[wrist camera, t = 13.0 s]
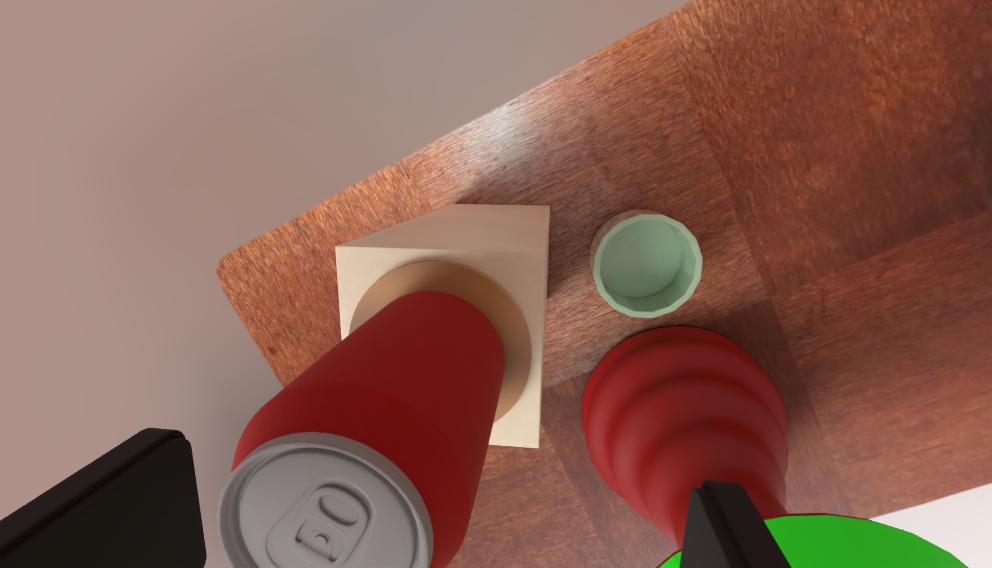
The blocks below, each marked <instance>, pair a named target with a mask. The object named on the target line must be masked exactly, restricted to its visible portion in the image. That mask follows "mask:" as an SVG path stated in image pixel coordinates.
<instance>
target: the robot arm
mask: <svg viewBox="0 0 992 568" xmlns="http://www.w3.org/2000/svg"><path fill="white" fill-rule="evenodd" d="M192 456H193V455H192V448H191V444H190V442H189V441H188V440H186V439H185V436H184V435H183V433H182V432H180V431H178V430H169V429H159V428H147V429H144V430H142V431H140V432H138V433H137V434H135V435H134V436H132V437H131V438H129V439H128V440H126V441H125V442H123V443H121V444H120V445H118V446H117V447H115V448H114V449H112V450H110V451H109V452H107V453H106V454H104V455H102V456H101V457H100V458H98V459H96V460H95V461H93V462H92V463H90V464H89V465H87V466H85V467H84V468H82V469H80V470H79V471H77V472H76V473H74V474H73V475H71V476H70V477H68V478H66V479H65V480H63V481H62V482H60V483H59V484H57V485H56V486H54V487H52V488H51V489H49V490H48V491H46V492H44V493H43V494H41V495H40V496H38V497H37V498H35V499H34V500H32V501H31V502H29V503H27V504H26V505H24V506H23V507H21V508H20V509H18V510H16V511H15V512H13V513H12V514H10V515H9V516H7V517H5V518H4V519H2V520H1V521H0V568H204V565H205V562H206V548H205V541H204V534H203V526H202V519H201V512H200V505H199V498H198V491H197V484H196V477H195V470H194V463H193V457H192ZM679 568H792V567H791V566H790V564H789V562H788V561H787V559H786V557H785V555H784V554H783V552H782V550H781V549H780V547H779V545H778V544H777V542H776V540H775V539H774V537H773V535H772V534H771V532H770V530H769V529H768V527H767V525H766V524H765V522H764V520H763V519H762V517H761V515H760V514H759V512H758V510H757V508H756V507H755V505H754V503H753V502H752V500H751V498H750V497H749V495H748V493H747V492H746V490H745V488H744V487H743V486H742V485H741V484H739V483H734V482H723V481H713V480H705V481H703V483H702V485H701V488H692V490H691V492H690V497H689V504H688V511H687V518H686V525H685V532H684V539H683V546H682V552H681V559H680V566H679Z"/></svg>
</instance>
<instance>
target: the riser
mask: <svg viewBox="0 0 992 568" xmlns="http://www.w3.org/2000/svg"><path fill="white" fill-rule="evenodd" d="M549 226H550V206H547V205H494V204H452V205H449V206H446V207H444V208H441V209H438V210H435V211H432V212H430V213H427V214H424V215H421V216H418V217H415V218H413V219H410V220H407V221H404V222H401V223H399V224H396V225H393V226H390V227H387V228H385V229H382V230H379V231H376V232H373V233H371V234H368V235H365V236H362V237H359V238H357V239H354V240H351V241H348V242H345V243H343V244H340V245H337V246H335V249H336V263H337V277H338V292H339V306H340V320H341V334H342V340H343V339H345V338H346V337H347V336H348V335H349V329H350V324H351V320H352V317H353V314H354V311H355V309H356V307H357V305H358V303H359V301H360V300H361V298H362V297H363V295H364V294H365V293H366V291H367V290H368V289H369V288H370V287H371V286H372V285H373V284H374V283H375V282H376V281H377V280H378V279H380V278H381V277H383V276H384V275H386V274H387V273H389V272H390V271H392V270H394V269H396V268H398V267H400V266H403V265H406V264H409V263H412V262H417V261H423V260H446V261H453V262H457V263H461V264H464V265H467V266H470V267H472V268H475V269H477V270H479V271H481V272H483V273H484V274H486V275H488V276H489V277H490V278H492V279H493V280H495V281H496V282H497V283H498V284H499V285H501V286H502V287H503V288H504V289H505V290H506V291H507V292H508V294H509V295H510V296H511V297H512V298H513V299H514V301H515V303H516V304H517V306H518V307H519V309H520V310H521V313H522V315H523V317H524V319H525V321H526V324H527V327H528V330H529V334H530V340H531V351H532V357H531V367H530V372H529V376H528V380H527V383H526V385H525V388H524V390H523V392H522V394H521V396H520V397H519V399H518V401H517V402H516V403H515V404H514V406H513V407H512V408H511V409H510V410H509V411H508V412H507V413H506V414H505V415H504V416H503V417H502V418H500V419H499V420H498V421H496V422H495V423H493V427H492V432H491V436H490V440H489V444H490V445H503V446H517V447H530V448H539V438H540V419H541V400H542V381H543V362H544V343H545V324H546V306H547V281H548V253H549Z"/></svg>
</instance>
